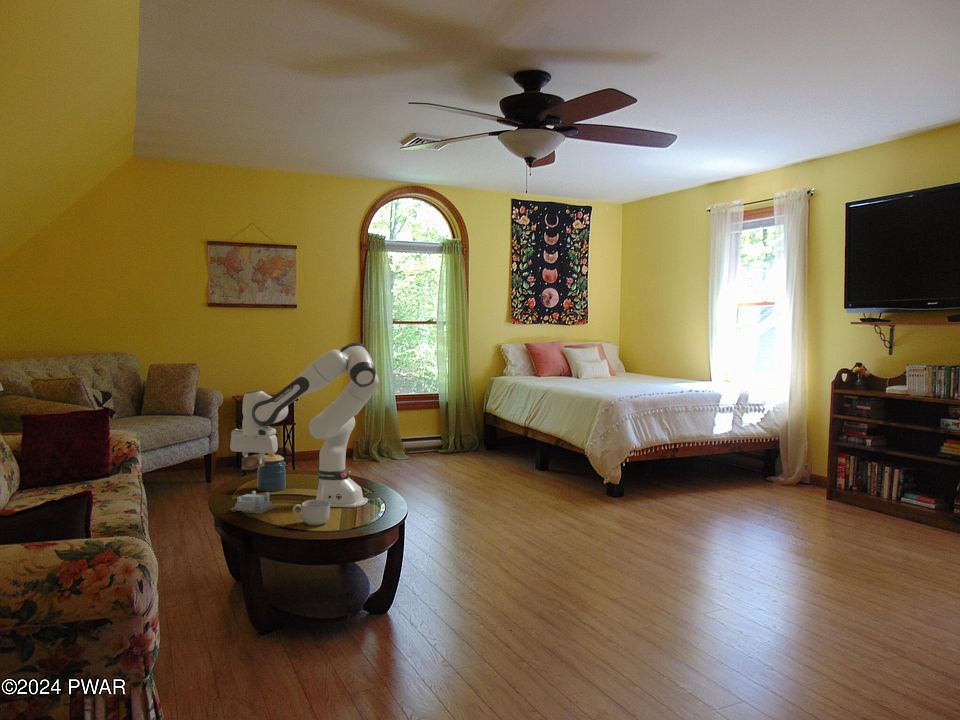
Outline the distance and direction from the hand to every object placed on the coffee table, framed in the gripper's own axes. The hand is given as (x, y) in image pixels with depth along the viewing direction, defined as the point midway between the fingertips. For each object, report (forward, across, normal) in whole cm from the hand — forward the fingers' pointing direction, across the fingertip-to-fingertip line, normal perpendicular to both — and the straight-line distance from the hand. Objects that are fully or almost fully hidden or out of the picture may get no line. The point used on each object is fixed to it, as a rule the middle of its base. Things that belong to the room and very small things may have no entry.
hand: (253, 463), depth 275 cm
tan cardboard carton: (+2, 0, 0) cm, 2 cm away
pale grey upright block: (+18, 0, 0) cm, 18 cm away
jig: (+19, 0, 0) cm, 19 cm away
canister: (+19, -13, +35) cm, 42 cm away
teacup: (+19, +33, -12) cm, 40 cm away
